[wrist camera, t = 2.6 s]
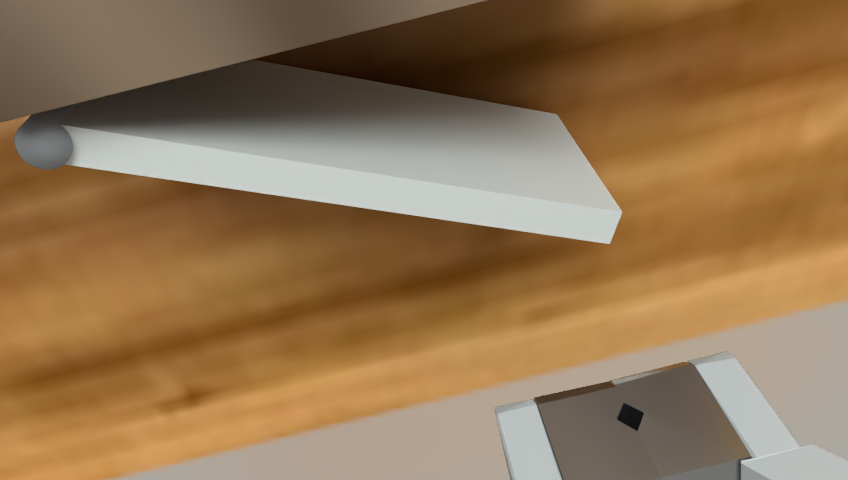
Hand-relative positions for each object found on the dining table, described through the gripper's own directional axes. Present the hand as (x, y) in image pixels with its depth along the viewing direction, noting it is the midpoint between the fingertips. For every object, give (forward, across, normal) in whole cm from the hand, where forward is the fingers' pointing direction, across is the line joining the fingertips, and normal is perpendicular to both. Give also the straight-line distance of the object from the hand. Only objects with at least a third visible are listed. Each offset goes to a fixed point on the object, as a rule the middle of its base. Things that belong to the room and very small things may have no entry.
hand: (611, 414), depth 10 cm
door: (+17, +4, +1) cm, 18 cm away
